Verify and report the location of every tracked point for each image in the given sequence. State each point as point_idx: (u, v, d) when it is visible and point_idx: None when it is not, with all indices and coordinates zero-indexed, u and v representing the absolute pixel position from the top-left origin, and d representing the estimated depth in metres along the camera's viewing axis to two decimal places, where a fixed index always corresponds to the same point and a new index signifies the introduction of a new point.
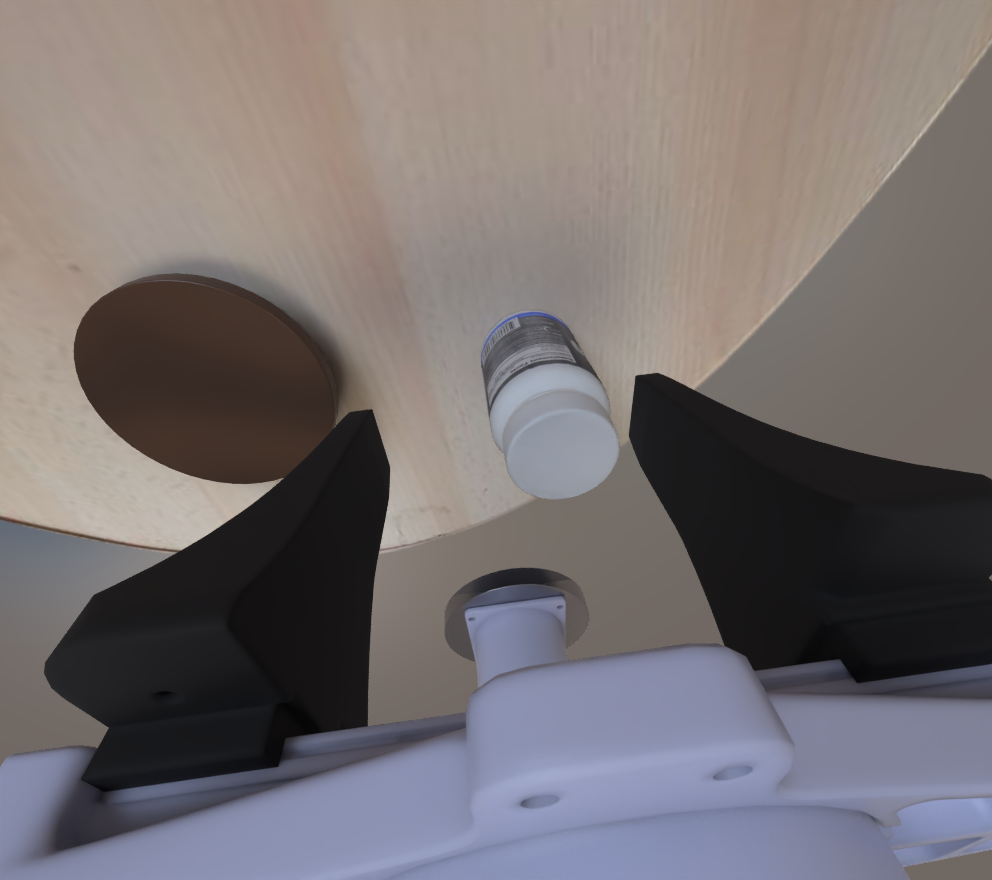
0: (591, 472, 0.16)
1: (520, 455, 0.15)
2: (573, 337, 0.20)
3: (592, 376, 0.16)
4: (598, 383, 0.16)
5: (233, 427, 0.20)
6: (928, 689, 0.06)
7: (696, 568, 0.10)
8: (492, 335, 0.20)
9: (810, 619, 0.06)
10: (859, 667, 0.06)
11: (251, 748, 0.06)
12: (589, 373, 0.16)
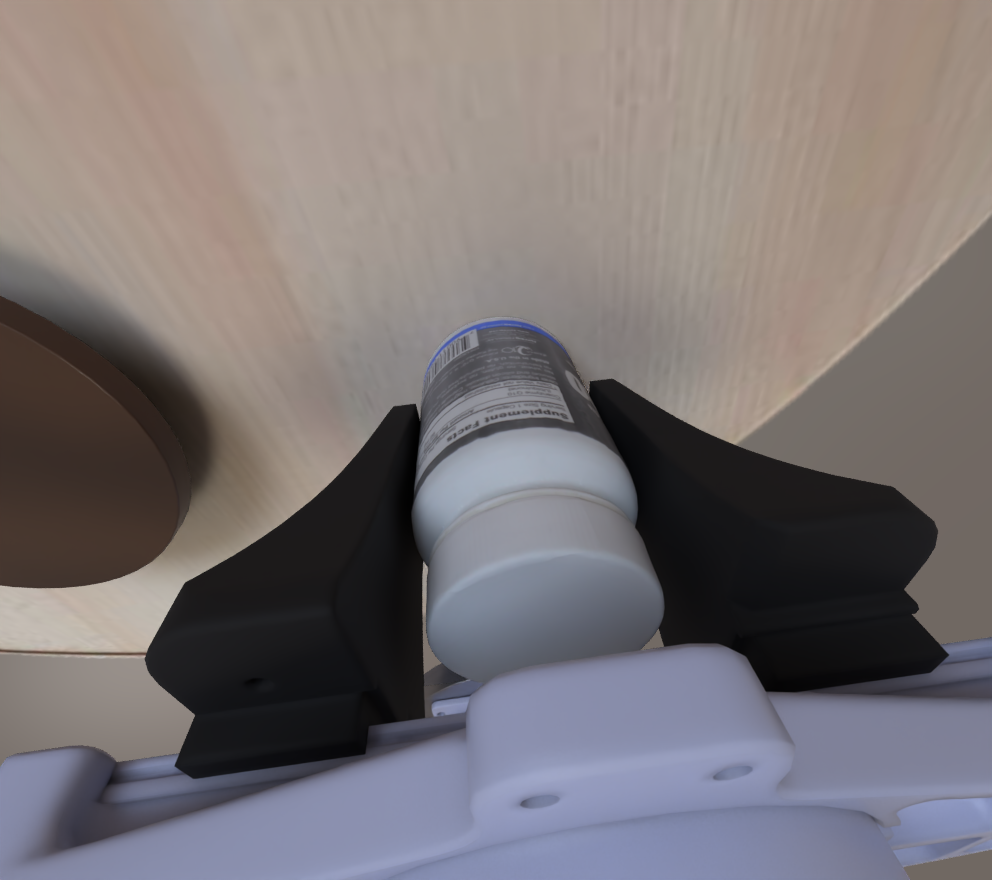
0: (604, 649, 0.08)
1: (455, 631, 0.07)
2: (570, 362, 0.12)
3: (606, 450, 0.08)
4: (617, 464, 0.08)
5: (7, 511, 0.12)
6: (927, 689, 0.06)
7: None
8: (436, 358, 0.12)
9: (727, 631, 0.06)
10: None
11: (342, 735, 0.06)
12: (600, 445, 0.08)
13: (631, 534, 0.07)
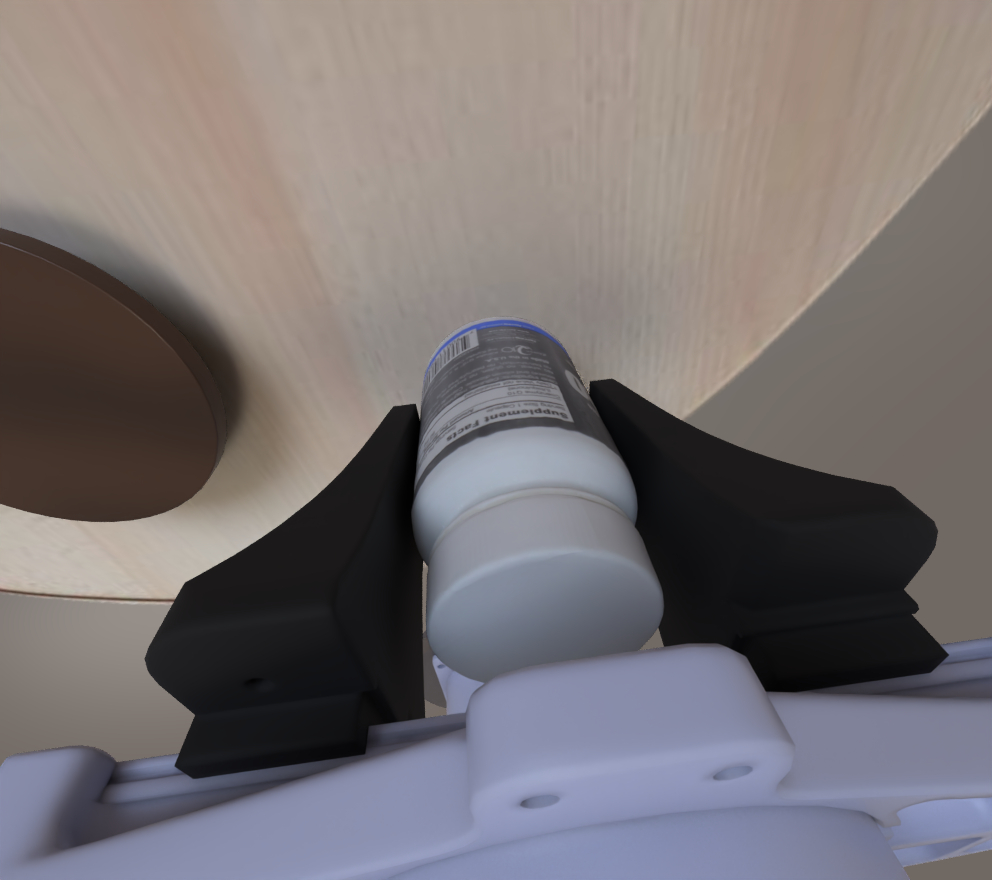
0: (604, 648, 0.08)
1: (454, 630, 0.07)
2: (569, 362, 0.12)
3: (605, 450, 0.08)
4: (617, 463, 0.08)
5: (73, 448, 0.14)
6: (928, 689, 0.06)
7: None
8: (436, 358, 0.12)
9: (727, 631, 0.06)
10: None
11: (342, 735, 0.06)
12: (599, 444, 0.08)
13: (630, 533, 0.07)
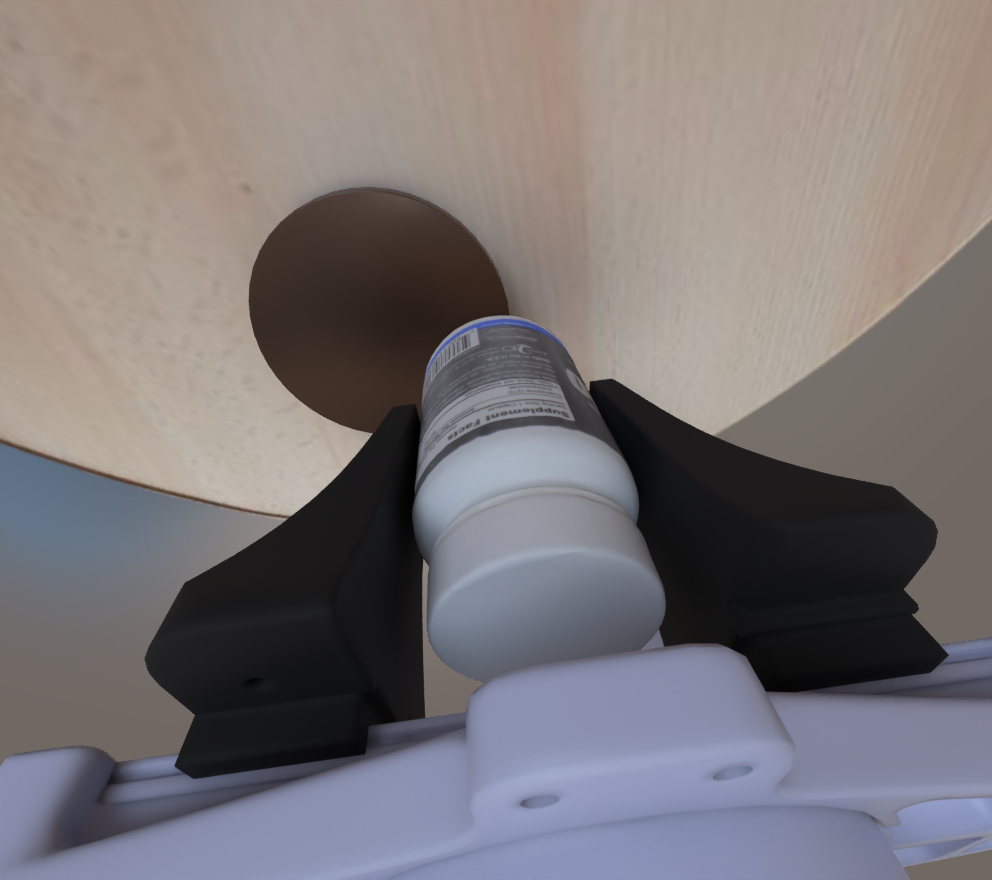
0: (606, 648, 0.08)
1: (456, 629, 0.07)
2: (570, 361, 0.12)
3: (607, 449, 0.08)
4: (618, 462, 0.08)
5: (398, 368, 0.18)
6: (927, 689, 0.06)
7: None
8: (437, 357, 0.12)
9: (727, 630, 0.06)
10: None
11: (341, 735, 0.06)
12: (601, 443, 0.08)
13: (632, 532, 0.07)
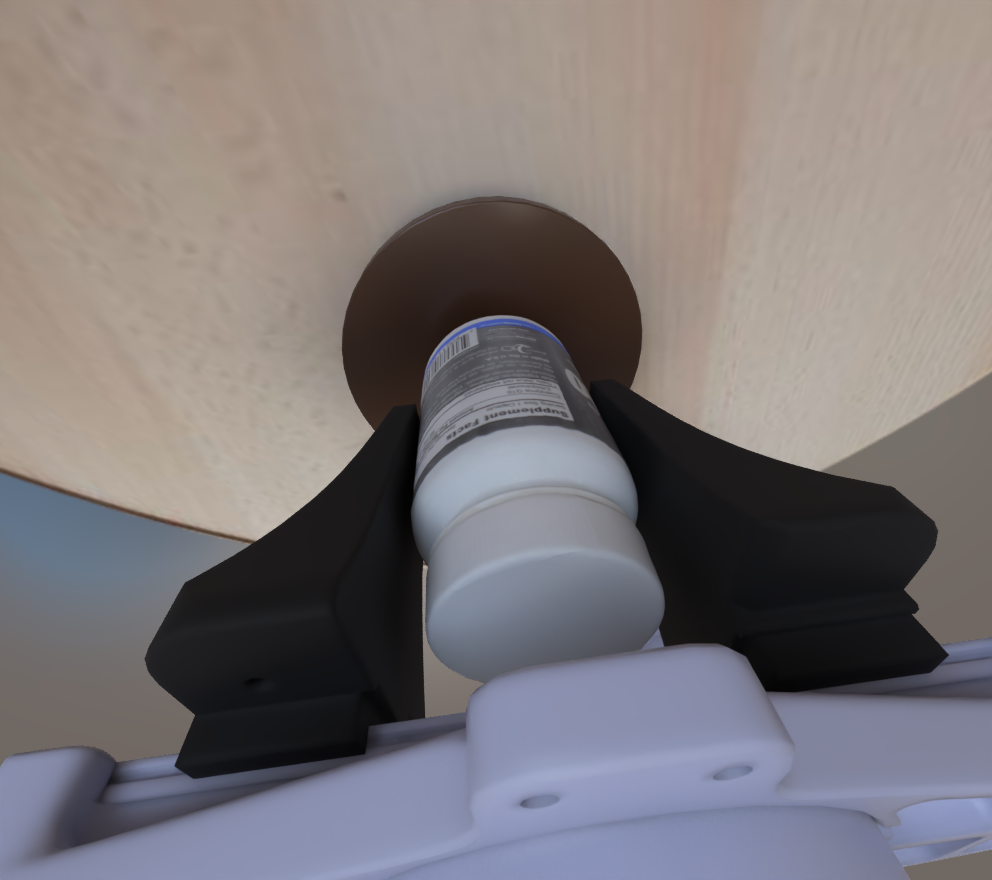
0: (604, 648, 0.08)
1: (454, 630, 0.07)
2: (569, 361, 0.12)
3: (605, 449, 0.08)
4: (617, 462, 0.08)
5: None
6: (927, 689, 0.06)
7: None
8: (436, 357, 0.12)
9: (727, 631, 0.06)
10: None
11: (342, 735, 0.06)
12: (600, 443, 0.08)
13: (631, 532, 0.07)
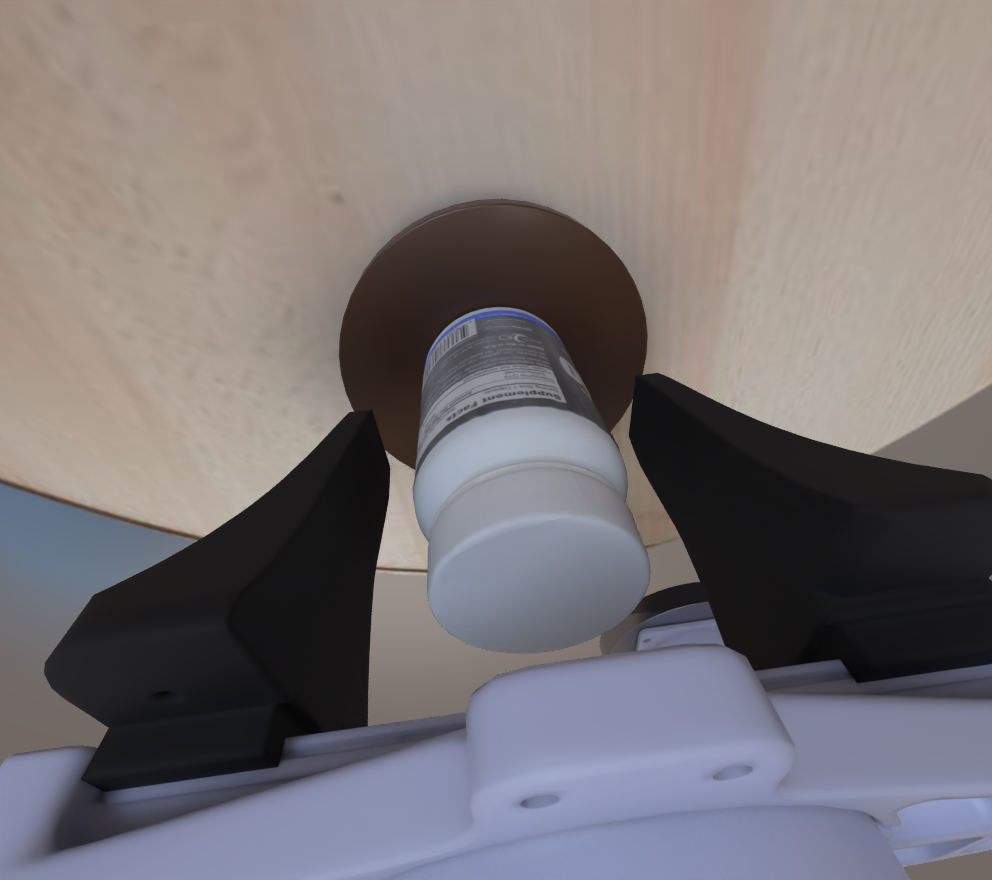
0: (595, 614, 0.08)
1: (454, 594, 0.08)
2: (564, 351, 0.12)
3: (596, 429, 0.09)
4: (607, 441, 0.09)
5: None
6: (928, 689, 0.06)
7: (696, 568, 0.10)
8: (436, 347, 0.13)
9: (810, 619, 0.06)
10: (859, 667, 0.06)
11: (251, 748, 0.06)
12: (591, 423, 0.09)
13: (619, 504, 0.08)
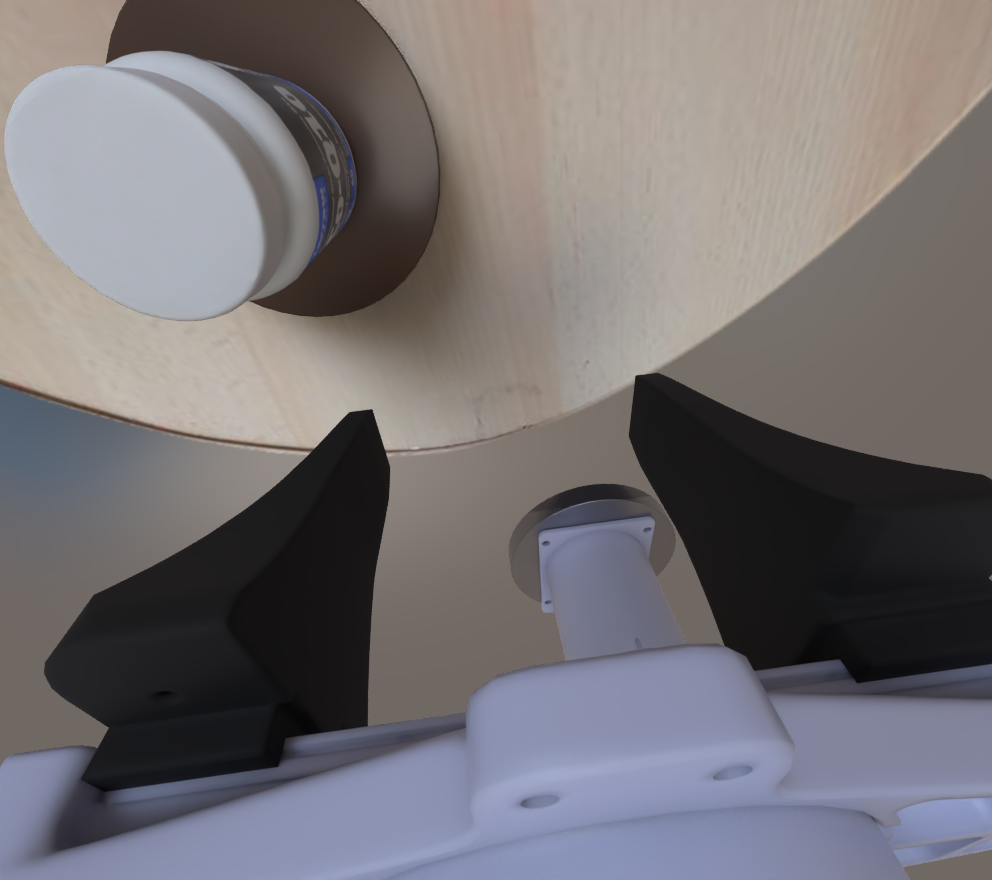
0: (221, 254, 0.08)
1: (43, 198, 0.07)
2: (315, 108, 0.12)
3: (243, 85, 0.09)
4: (256, 100, 0.09)
5: None
6: (928, 689, 0.06)
7: (696, 568, 0.10)
8: None
9: (810, 619, 0.06)
10: (859, 667, 0.06)
11: (251, 748, 0.06)
12: (236, 79, 0.09)
13: (215, 112, 0.07)
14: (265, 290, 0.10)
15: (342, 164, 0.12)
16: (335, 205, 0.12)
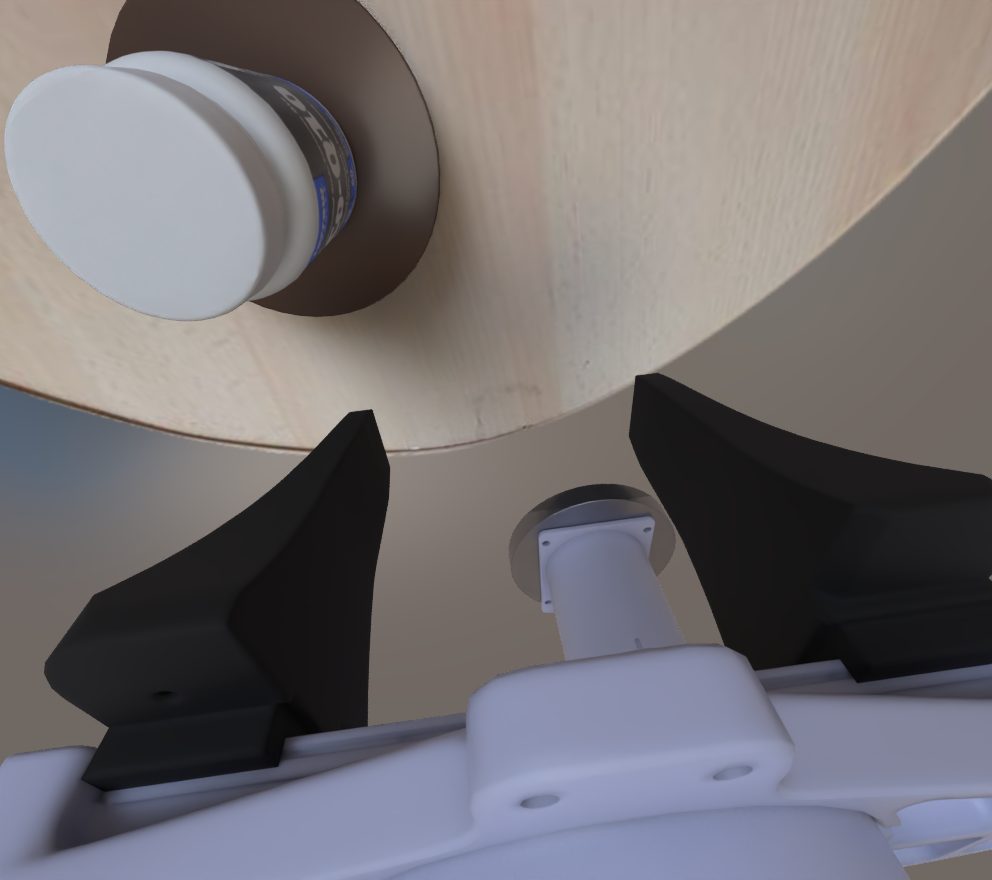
0: (221, 254, 0.08)
1: (43, 198, 0.07)
2: (315, 108, 0.12)
3: (243, 85, 0.09)
4: (256, 100, 0.09)
5: None
6: (928, 689, 0.06)
7: (696, 568, 0.10)
8: None
9: (810, 619, 0.06)
10: (859, 667, 0.06)
11: (251, 748, 0.06)
12: (236, 79, 0.09)
13: (215, 112, 0.07)
14: (265, 290, 0.10)
15: (342, 164, 0.12)
16: (335, 205, 0.12)
